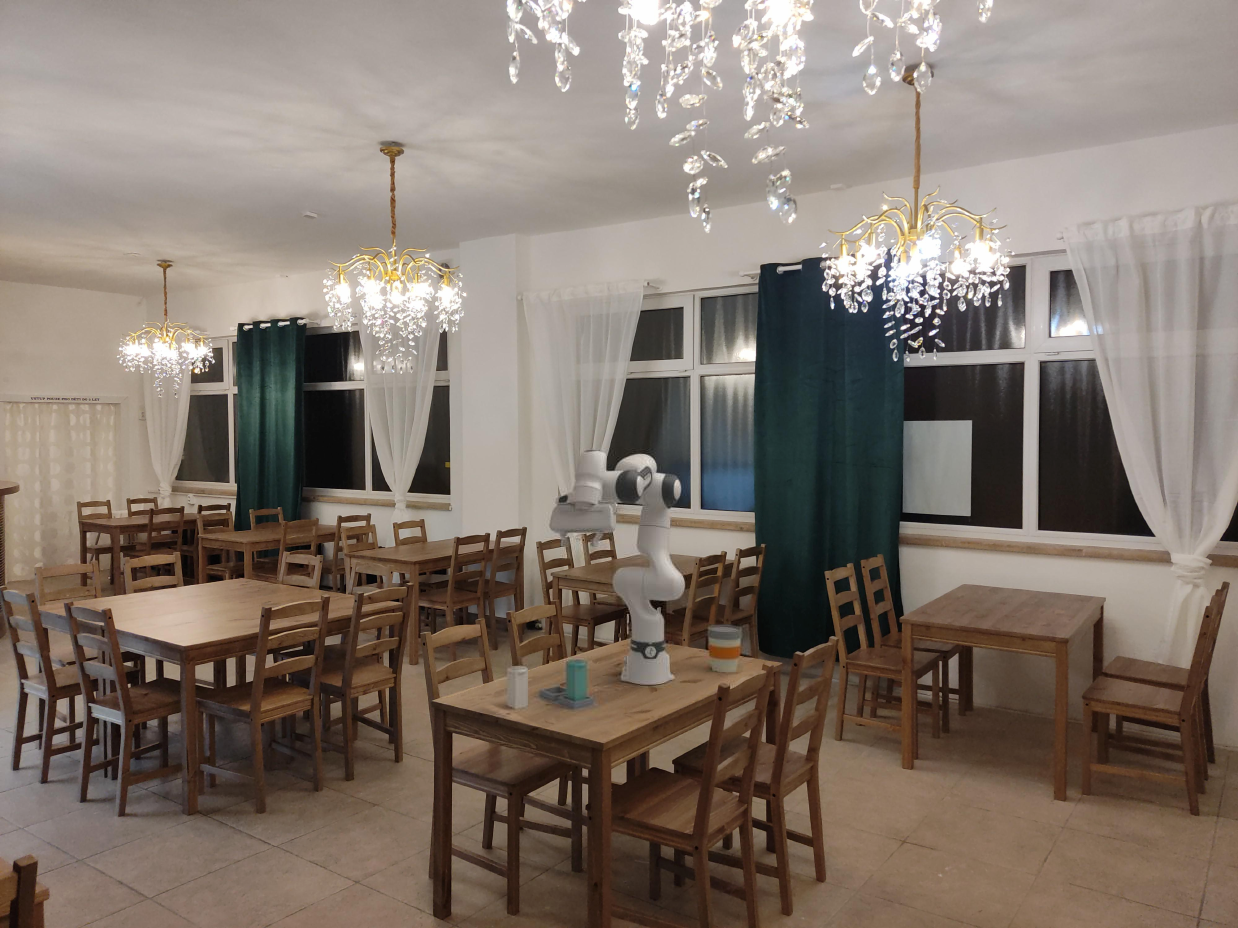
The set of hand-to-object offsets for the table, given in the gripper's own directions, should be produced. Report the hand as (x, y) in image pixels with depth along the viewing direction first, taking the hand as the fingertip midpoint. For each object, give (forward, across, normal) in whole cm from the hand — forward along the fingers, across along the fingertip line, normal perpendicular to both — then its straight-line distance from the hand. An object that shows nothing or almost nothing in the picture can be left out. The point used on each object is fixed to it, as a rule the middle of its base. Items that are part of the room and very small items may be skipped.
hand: (578, 546), depth 251 cm
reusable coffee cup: (+14, -13, -96) cm, 98 cm away
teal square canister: (+39, +12, -36) cm, 54 cm away
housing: (+39, +17, -38) cm, 57 cm away
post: (+44, +27, -27) cm, 58 cm away
